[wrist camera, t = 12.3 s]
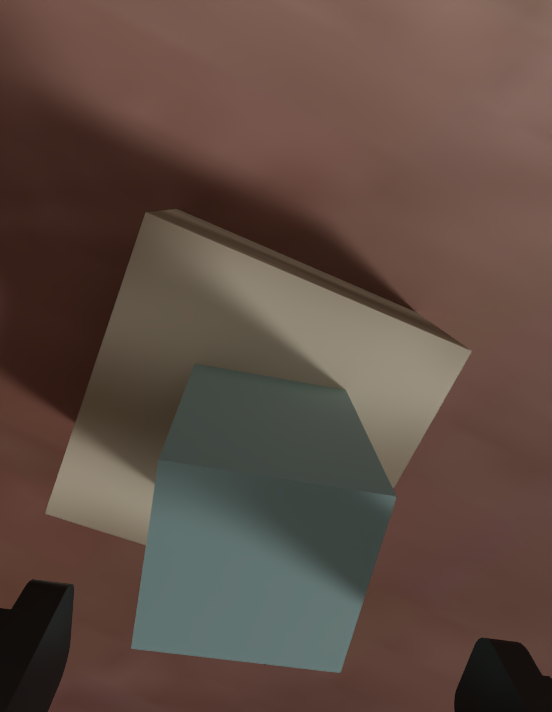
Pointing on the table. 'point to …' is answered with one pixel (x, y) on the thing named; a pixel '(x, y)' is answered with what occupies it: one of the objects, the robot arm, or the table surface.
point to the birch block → (237, 359)
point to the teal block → (261, 524)
